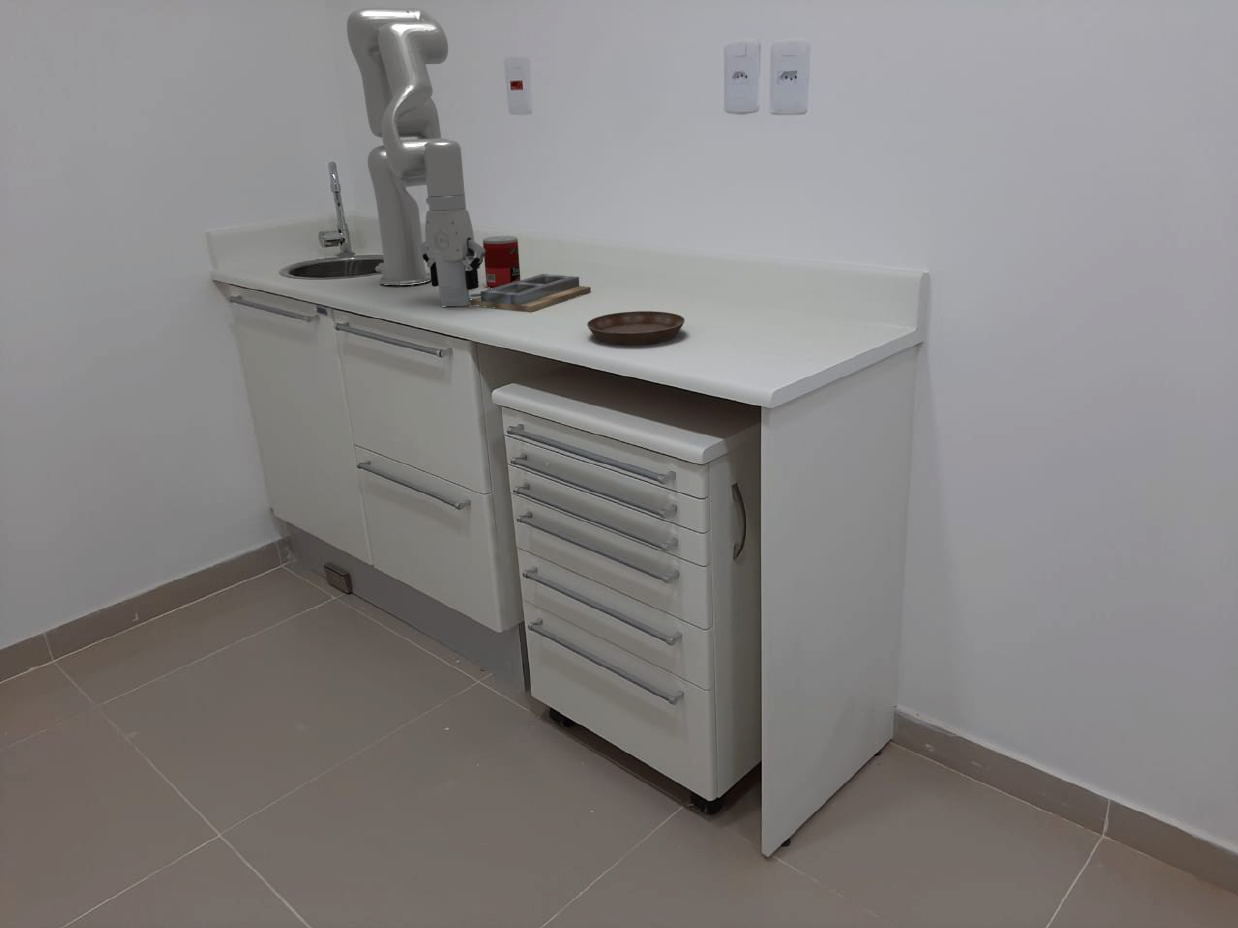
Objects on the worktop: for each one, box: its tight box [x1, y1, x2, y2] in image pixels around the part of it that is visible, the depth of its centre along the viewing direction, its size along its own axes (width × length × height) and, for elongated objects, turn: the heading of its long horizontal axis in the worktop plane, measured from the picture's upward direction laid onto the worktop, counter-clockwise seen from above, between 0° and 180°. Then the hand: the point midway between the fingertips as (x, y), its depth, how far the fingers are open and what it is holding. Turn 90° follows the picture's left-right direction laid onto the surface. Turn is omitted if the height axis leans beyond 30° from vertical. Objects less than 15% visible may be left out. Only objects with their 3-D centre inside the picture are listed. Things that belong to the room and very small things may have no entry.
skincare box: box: [434, 250, 471, 307], centre depth 204 cm, size 6×4×12 cm
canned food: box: [482, 235, 521, 289], centre depth 222 cm, size 8×8×11 cm
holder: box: [470, 273, 592, 313], centre depth 209 cm, size 16×22×3 cm
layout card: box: [469, 287, 489, 299], centre depth 214 cm, size 7×10×1 cm
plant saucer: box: [586, 310, 685, 346], centre depth 175 cm, size 18×18×3 cm
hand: (455, 287), depth 205 cm, fingers open, 9 cm apart
